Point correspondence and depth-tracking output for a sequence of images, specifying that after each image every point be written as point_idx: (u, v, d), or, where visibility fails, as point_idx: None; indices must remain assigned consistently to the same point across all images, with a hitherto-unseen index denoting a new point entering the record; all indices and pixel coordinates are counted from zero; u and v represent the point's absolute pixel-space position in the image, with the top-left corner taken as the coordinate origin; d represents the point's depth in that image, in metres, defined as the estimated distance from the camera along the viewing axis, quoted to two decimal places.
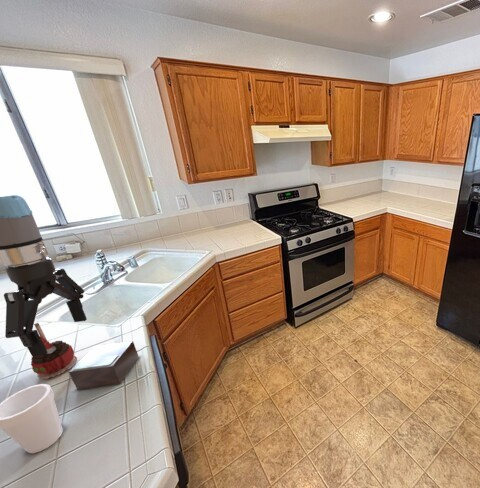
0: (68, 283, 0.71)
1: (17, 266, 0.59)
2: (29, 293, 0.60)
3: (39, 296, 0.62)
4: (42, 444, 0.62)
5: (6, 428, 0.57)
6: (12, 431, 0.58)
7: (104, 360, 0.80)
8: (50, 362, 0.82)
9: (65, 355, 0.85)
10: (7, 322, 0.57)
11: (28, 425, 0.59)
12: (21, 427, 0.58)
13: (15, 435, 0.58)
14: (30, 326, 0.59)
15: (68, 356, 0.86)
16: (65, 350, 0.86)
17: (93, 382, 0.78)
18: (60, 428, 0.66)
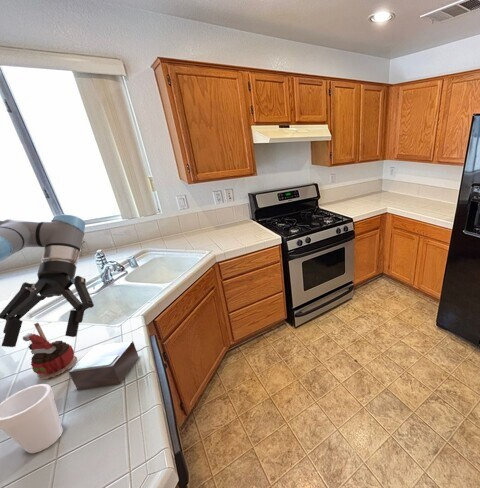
0: (24, 301, 0.71)
1: (72, 263, 0.76)
2: (71, 285, 0.74)
3: None
4: (42, 444, 0.62)
5: (6, 428, 0.57)
6: (12, 431, 0.58)
7: (104, 360, 0.80)
8: (50, 362, 0.82)
9: (65, 355, 0.85)
10: (85, 294, 0.72)
11: (28, 425, 0.59)
12: (21, 427, 0.58)
13: (15, 435, 0.58)
14: None
15: (68, 356, 0.86)
16: (65, 350, 0.86)
17: (93, 382, 0.78)
18: (60, 428, 0.66)
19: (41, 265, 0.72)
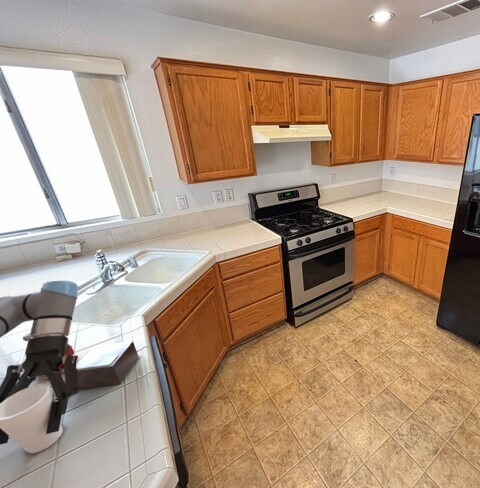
0: (13, 385, 0.65)
1: (64, 335, 0.70)
2: (63, 361, 0.68)
3: None
4: (42, 444, 0.62)
5: (6, 428, 0.57)
6: (12, 431, 0.58)
7: (104, 360, 0.80)
8: None
9: (65, 355, 0.85)
10: (71, 380, 0.65)
11: (28, 425, 0.59)
12: (21, 427, 0.58)
13: (15, 435, 0.58)
14: None
15: None
16: None
17: (93, 382, 0.78)
18: (60, 428, 0.66)
19: (29, 343, 0.66)
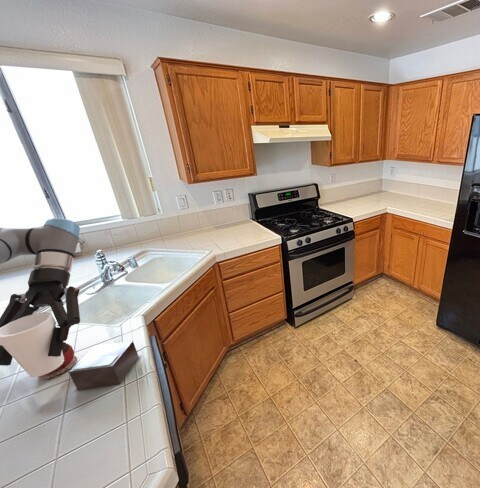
0: (16, 313, 0.66)
1: (66, 270, 0.72)
2: (64, 294, 0.70)
3: None
4: (44, 368, 0.63)
5: (9, 346, 0.58)
6: (15, 350, 0.59)
7: (104, 360, 0.80)
8: None
9: (65, 355, 0.85)
10: (73, 309, 0.67)
11: (30, 346, 0.60)
12: (23, 347, 0.59)
13: (17, 354, 0.60)
14: None
15: (68, 356, 0.86)
16: (65, 350, 0.86)
17: (93, 382, 0.78)
18: (62, 357, 0.67)
19: (32, 273, 0.67)
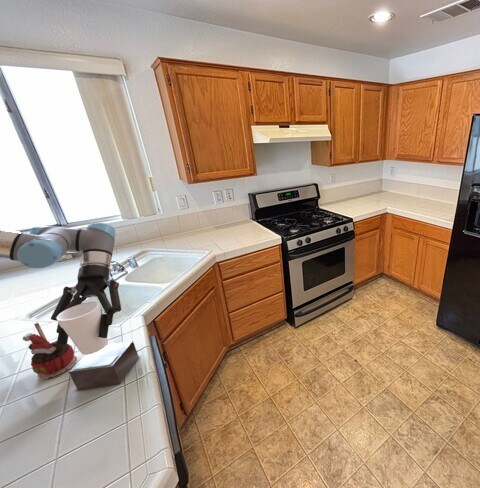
0: (68, 303, 0.79)
1: (106, 267, 0.85)
2: (107, 286, 0.83)
3: None
4: (94, 347, 0.76)
5: (68, 328, 0.71)
6: (73, 332, 0.72)
7: (104, 360, 0.80)
8: (50, 362, 0.82)
9: (65, 355, 0.85)
10: (115, 299, 0.80)
11: (85, 328, 0.73)
12: (79, 329, 0.72)
13: (74, 335, 0.73)
14: None
15: (68, 356, 0.86)
16: (65, 350, 0.86)
17: (93, 382, 0.78)
18: (106, 339, 0.80)
19: (81, 269, 0.80)
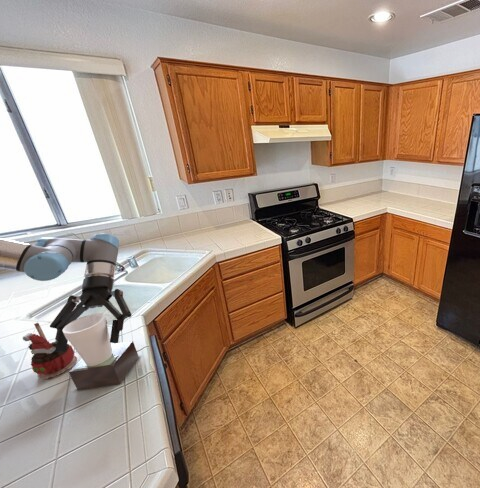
0: (70, 311, 0.80)
1: (110, 277, 0.86)
2: None
3: None
4: (99, 359, 0.78)
5: (74, 341, 0.73)
6: (78, 344, 0.74)
7: None
8: (50, 362, 0.82)
9: (65, 355, 0.85)
10: (124, 305, 0.82)
11: (90, 340, 0.75)
12: (85, 341, 0.74)
13: (80, 347, 0.74)
14: None
15: (68, 356, 0.86)
16: None
17: (93, 382, 0.78)
18: (111, 350, 0.81)
19: (85, 280, 0.81)
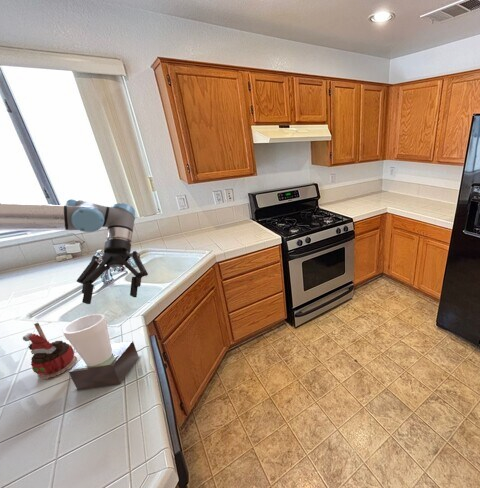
0: (93, 270, 0.90)
1: (128, 242, 0.96)
2: (129, 258, 0.94)
3: None
4: (99, 359, 0.78)
5: (74, 341, 0.73)
6: (78, 344, 0.74)
7: None
8: (50, 362, 0.82)
9: (65, 355, 0.85)
10: (141, 265, 0.91)
11: (90, 340, 0.75)
12: (85, 341, 0.74)
13: (80, 347, 0.74)
14: None
15: (68, 356, 0.86)
16: (65, 350, 0.86)
17: (93, 382, 0.78)
18: (111, 350, 0.81)
19: (107, 242, 0.91)
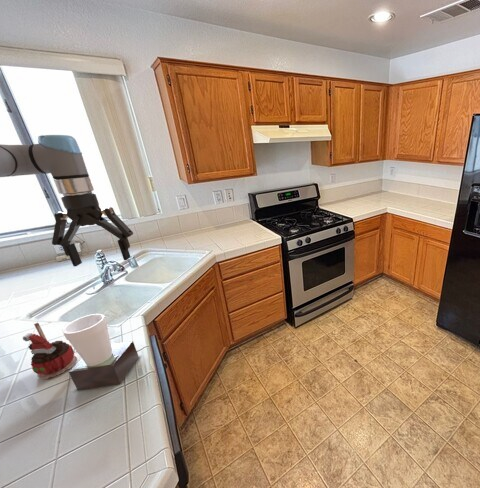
0: (64, 227, 0.77)
1: (91, 192, 0.76)
2: None
3: None
4: (99, 359, 0.78)
5: (74, 341, 0.73)
6: (78, 344, 0.74)
7: None
8: (50, 362, 0.82)
9: (65, 355, 0.85)
10: (122, 226, 0.79)
11: (90, 340, 0.75)
12: (85, 341, 0.74)
13: (80, 347, 0.74)
14: None
15: (68, 356, 0.86)
16: (65, 350, 0.86)
17: (93, 382, 0.78)
18: (111, 350, 0.81)
19: (64, 200, 0.72)
